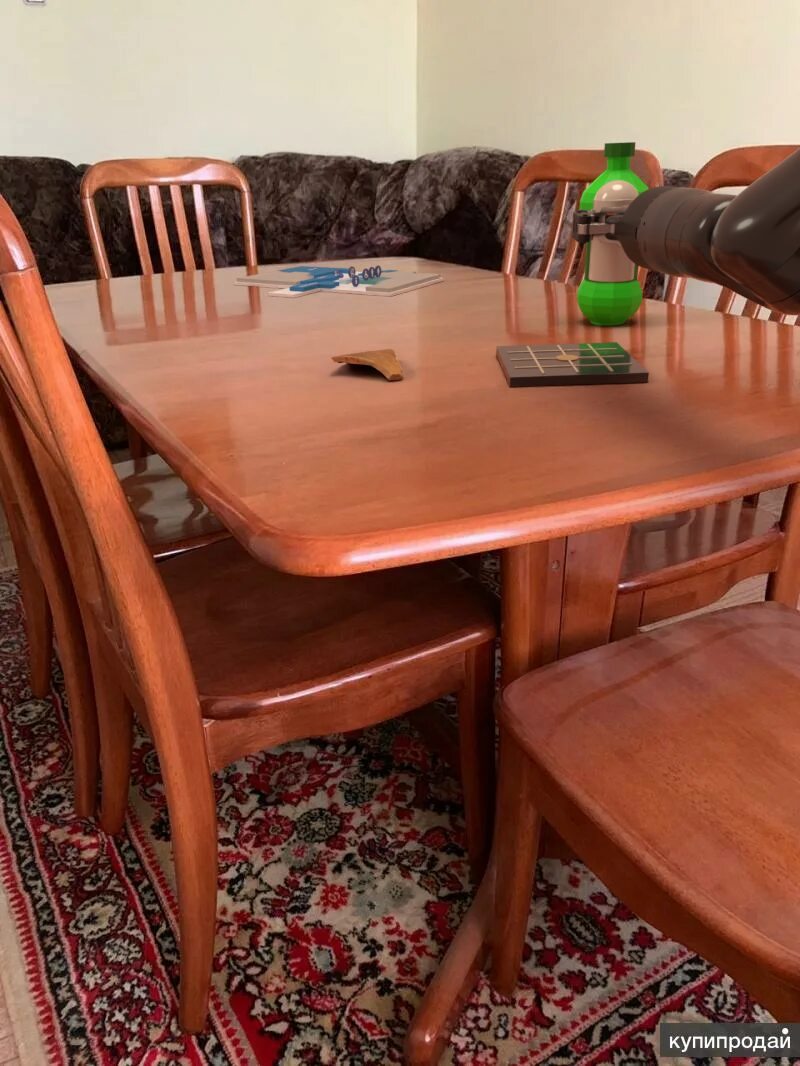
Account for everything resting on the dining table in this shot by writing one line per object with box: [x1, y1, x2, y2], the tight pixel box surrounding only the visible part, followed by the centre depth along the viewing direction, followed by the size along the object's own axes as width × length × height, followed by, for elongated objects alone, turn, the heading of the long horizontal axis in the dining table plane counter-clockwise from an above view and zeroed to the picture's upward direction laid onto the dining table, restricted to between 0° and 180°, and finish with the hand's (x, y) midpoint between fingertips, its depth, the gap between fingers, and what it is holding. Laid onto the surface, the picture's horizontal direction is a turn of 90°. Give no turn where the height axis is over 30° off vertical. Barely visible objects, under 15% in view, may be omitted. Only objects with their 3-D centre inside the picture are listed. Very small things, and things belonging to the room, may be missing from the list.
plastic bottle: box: [576, 141, 650, 327], centre depth 122 cm, size 10×10×25 cm
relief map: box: [233, 265, 445, 299], centre depth 170 cm, size 30×40×4 cm
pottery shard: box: [330, 348, 404, 381], centre depth 104 cm, size 10×9×2 cm
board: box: [495, 341, 650, 388], centre depth 103 cm, size 16×16×1 cm
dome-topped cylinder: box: [589, 180, 638, 282], centre depth 89 cm, size 5×5×10 cm
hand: (605, 218), depth 91 cm, fingers closed on dome-topped cylinder, 5 cm apart
